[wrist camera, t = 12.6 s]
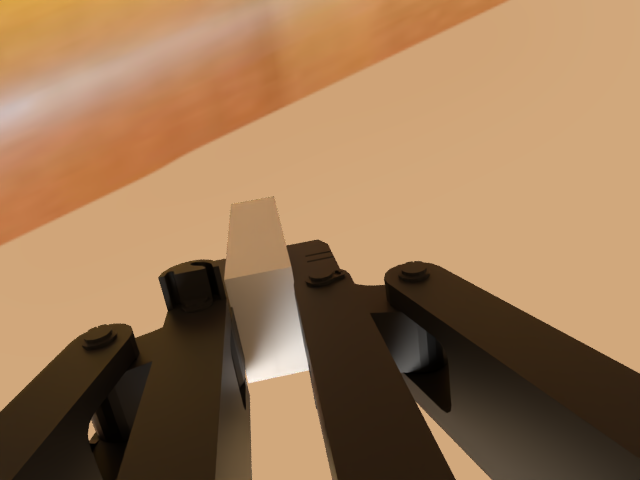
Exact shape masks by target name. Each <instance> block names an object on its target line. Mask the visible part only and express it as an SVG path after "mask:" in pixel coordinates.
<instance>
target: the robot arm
mask: <svg viewBox="0 0 640 480" xmlns="http://www.w3.org/2000/svg"><path fill="white" fill-rule="evenodd" d="M226 254H227V255H226V259H222V260H216V261H213V260H195V261H189V262H185V263H181V264H179V265H176V266H174V267H171V268H169V269H168V270H166V271H164V272H163V273H162V274H161V275H160V276H159V281H160V284H161V288H162V292H163V295H164V299H165V302H166V306H167V309H168V312H167V316H166V319H165V323H164V325H163V327H162V328H160V329H158V330H155V331H153V332H151V333H148V334H145V335H142V336H139V337H137V338H135V337H134V334H133V331H132V328H131V326H129V325H126V324H110V325H106V324H105V325H100V326H98V328H97V327H94V328H92V329H90V330H89V331H88V332H86V333H84V334H82V335H80V336H79V337H77V338H76V339H75V340H73V341H72V342H71V343H70V344H69V345H68V346H67V347H66V348H65V349H64V350H63V351H62V352H61V353H60V354H59V355H58V356H57V357H55V359H54V360H52V361H51V362H50V363H49V364H48V365H47V366H46V367H45V368H44V369H43V370H42V371H41V372H40V373H39V374H38V375H37V376H36V377H35V378H34V379H33V380H32V381H31V382H30V383H29V384H28V385H27V386H26V387H25V388H24V389H23V390H22V391H21V392H20V393H19V394H18V395H17V396H16V397H15V398H14V399H13V400H12V401H11V402H10V403H9V404H8V405H7V406H6V407H5V408H4V409H3V410H2V411H1V412H0V480H252V470H251V431H250V395H249V391H248V386H247V382H246V378H245V370H246V374H247V378H248V383H252V382H256V381H261V380H266V379H270V378H274V377H280V376H284V375H289V374H294V373H298V372H303V371H308V370H309V372H310V377H311V383H312V388H313V393H314V399H315V404H316V409H317V410H318V415H319V419H320V424H321V429H322V434H323V439H324V443H325V448H326V453H327V457H328V462H329V466H330V471H331V476H332V480H456V479H455V478H454V475H453V474H452V472H451V470H450V468H449V466H448V464H447V462H446V460H445V458H444V456H443V454H442V452H441V450H440V448H439V446H438V444H437V442H436V441H435V439H434V437H433V435H432V433H431V431H430V429H429V427H428V425H427V423H426V421H425V419H424V417H423V416H422V413H421V411H420V410H419V408H418V406H417V404H416V402H417V403H418V404H419V405H420V406H421V407H422V408H423V409H424V410H425V411H426V413H427V414H428V415H429V416H430V417H431V418H433V420H434V421H435V422H436V423H437V424H438V425H439V426H440V427H441V428H442V429H443V430H444V431H445V432H446V433H447V434H448V435H449V436H450V437H451V438H452V439H453V440H454V441H455V442H456V443H457V444H458V445H459V446H460V447H461V448H462V449H463V450H464V451H465V452H466V454H467V455H468V456H469V457H470V458H471V459H472V460H473V461H474V462H475V463H476V464H477V465H478V466H479V467H480V468H481V469H482V470H483V471H484V472H485V473H486V474H487V475H488V476H489V477H490V478H491V479H492V480H640V374H639V373H637V372H636V371H634V370H632V369H630V368H628V367H626V366H624V365H623V364H621V363H619V362H617V361H615V360H613V359H611V358H610V357H608V356H606V355H604V354H602V353H600V352H598V351H597V350H595V349H593V348H591V347H589V346H587V345H585V344H584V343H582V342H580V341H578V340H576V339H574V338H572V337H570V336H568V335H567V334H565V333H563V332H561V331H559V330H557V329H556V328H554V327H552V326H550V325H548V324H546V323H544V322H542V321H541V320H539V319H537V318H535V317H533V316H531V315H529V314H528V313H526V312H524V311H522V310H520V309H518V308H516V307H515V306H513V305H511V304H509V303H507V302H505V301H503V300H501V299H500V298H498V297H496V296H494V295H492V294H490V293H488V292H487V291H485V290H483V289H481V288H479V287H477V286H475V285H474V284H472V283H470V282H468V281H466V280H464V279H462V278H460V277H459V276H457V275H455V274H453V273H451V272H449V271H447V270H446V269H444V268H442V267H440V266H437V265H434V264H431V263H423V262H421V261H415V262H414V263H413V262H407V263H405V264H402V265H398V266H396V267H393V268H391V269H390V270H388V271H387V272H386V273H385V277H384V281H385V285H376V286H365V285H358V284H354V282H353V280H352V278H351V276H350V274H349V273H348V272H346V271H345V270H342V269H340V268H339V266H338V264H337V262H336V260H335V258H334V256H333V254H332V252H331V250H330V248H329V246H328V244H326V243H324V242H322V241H320V240H314V241H308V242H303V243H298V244H293V245H287V246H286V243H285V239H284V236H283V231H282V227H281V223H280V219H279V215H278V211H277V207H276V202H275V199H274V196H273V197H268V198H262V199H256V200H251V201H246V202H240V203H234V204H231V210H230V221H229V231H228V242H227V253H226ZM415 401H416V402H415ZM91 420H92V423H93V426H94V428H95V431H96V433H95V434H94V436H93V437H92V438H91V440H90V441H89V440H88V429H89V423H90V421H91Z"/></svg>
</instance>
